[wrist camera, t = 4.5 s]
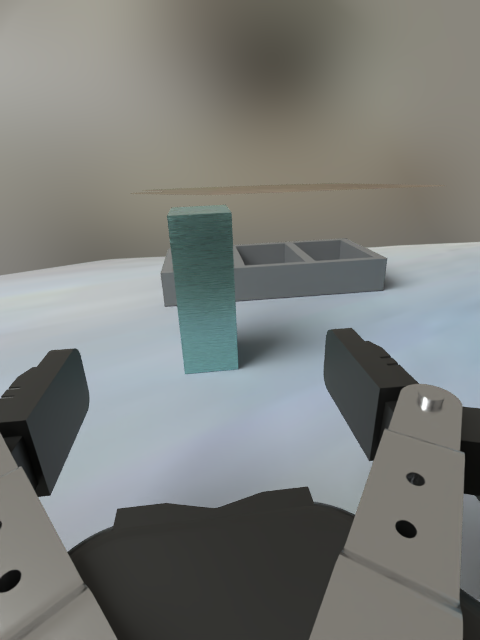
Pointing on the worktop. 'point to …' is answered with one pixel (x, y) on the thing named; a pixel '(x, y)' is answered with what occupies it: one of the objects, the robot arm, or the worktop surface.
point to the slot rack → (296, 270)
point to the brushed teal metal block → (204, 286)
